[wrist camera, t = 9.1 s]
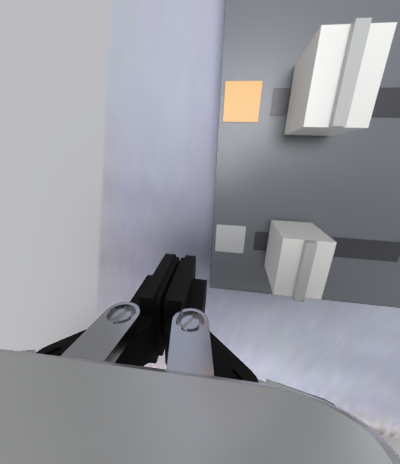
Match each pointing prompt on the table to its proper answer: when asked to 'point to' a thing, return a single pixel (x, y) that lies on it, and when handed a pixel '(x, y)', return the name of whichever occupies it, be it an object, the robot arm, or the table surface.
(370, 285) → the switch panel
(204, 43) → the table surface
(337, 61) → the middle knob
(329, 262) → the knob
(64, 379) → the robot arm
